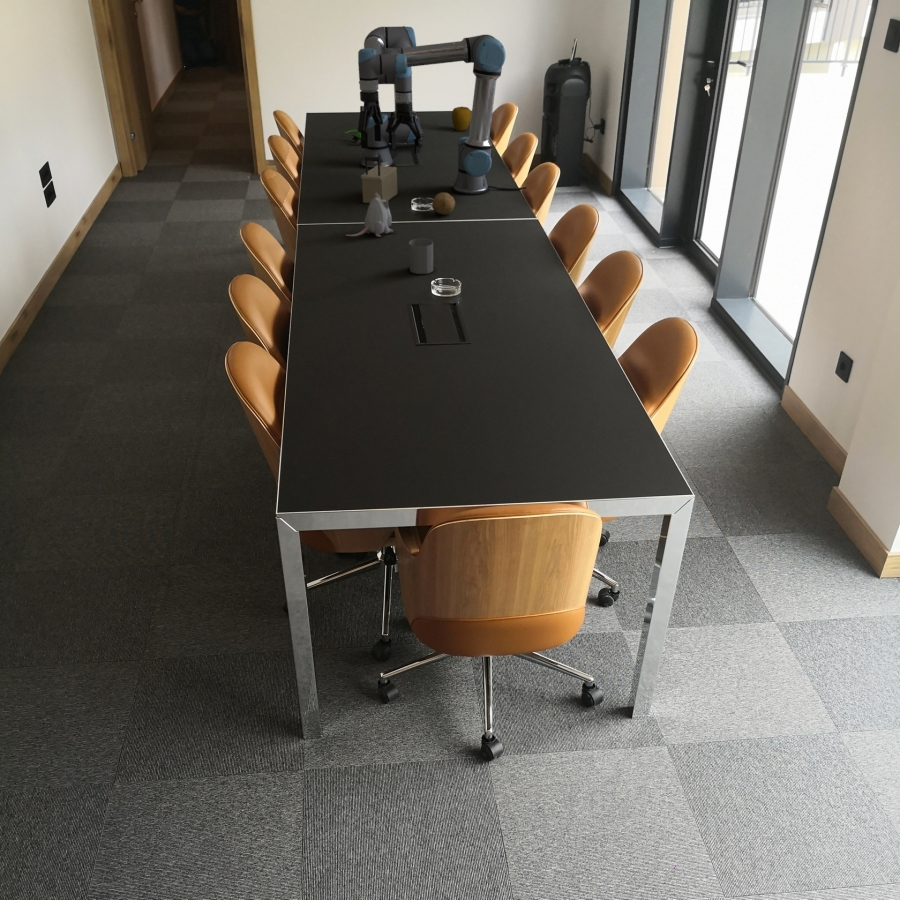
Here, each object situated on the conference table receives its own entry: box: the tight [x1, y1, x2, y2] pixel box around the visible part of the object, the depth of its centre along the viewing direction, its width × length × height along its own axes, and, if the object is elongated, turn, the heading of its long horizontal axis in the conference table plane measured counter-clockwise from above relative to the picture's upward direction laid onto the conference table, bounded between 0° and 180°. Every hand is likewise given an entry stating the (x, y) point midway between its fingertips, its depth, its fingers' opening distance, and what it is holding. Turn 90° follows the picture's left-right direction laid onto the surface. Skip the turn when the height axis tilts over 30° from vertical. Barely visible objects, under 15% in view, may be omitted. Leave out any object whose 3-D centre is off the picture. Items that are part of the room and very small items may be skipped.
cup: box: [408, 237, 434, 275], centre depth 305 cm, size 8×8×10 cm
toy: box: [346, 193, 394, 238], centre depth 334 cm, size 9×24×15 cm, turn 137°
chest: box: [361, 169, 398, 204], centre depth 379 cm, size 17×9×10 cm, turn 160°
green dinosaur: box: [343, 129, 361, 146], centre depth 465 cm, size 6×13×30 cm
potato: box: [431, 192, 456, 216], centre depth 360 cm, size 10×14×8 cm
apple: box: [451, 105, 472, 132], centre depth 487 cm, size 11×11×13 cm
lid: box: [360, 156, 398, 180], centre depth 373 cm, size 18×9×9 cm, turn 160°
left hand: (405, 151), depth 399 cm, fingers open, 13 cm apart
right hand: (371, 144), depth 363 cm, fingers open, 13 cm apart
